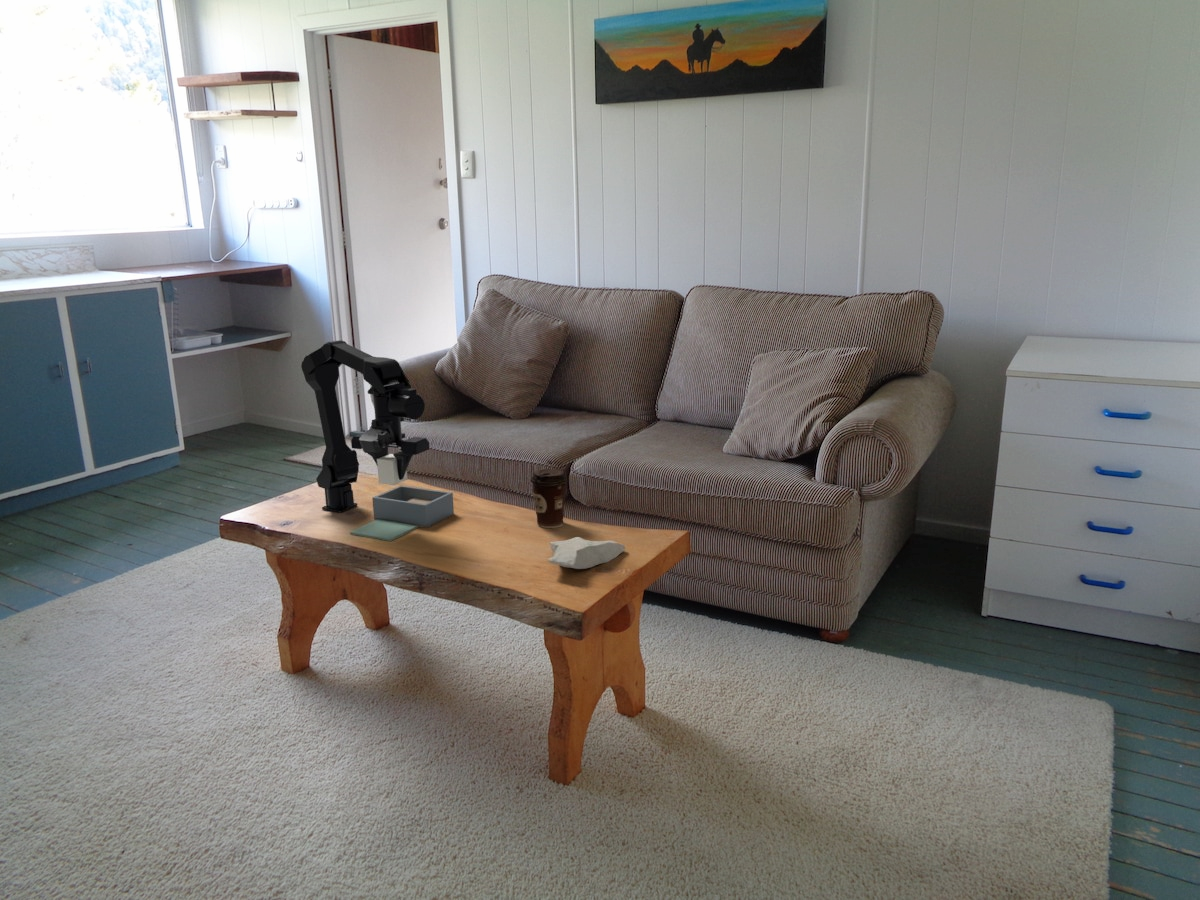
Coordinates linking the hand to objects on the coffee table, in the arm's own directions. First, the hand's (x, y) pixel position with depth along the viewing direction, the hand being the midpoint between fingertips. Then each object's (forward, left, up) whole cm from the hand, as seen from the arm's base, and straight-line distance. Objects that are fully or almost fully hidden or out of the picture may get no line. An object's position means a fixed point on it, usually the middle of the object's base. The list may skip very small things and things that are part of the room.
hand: (392, 478), depth 217 cm
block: (0, 0, -1) cm, 1 cm away
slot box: (0, +7, -12) cm, 14 cm away
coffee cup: (+34, +15, -12) cm, 39 cm away
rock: (+50, -3, -12) cm, 52 cm away
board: (0, -5, -12) cm, 13 cm away
